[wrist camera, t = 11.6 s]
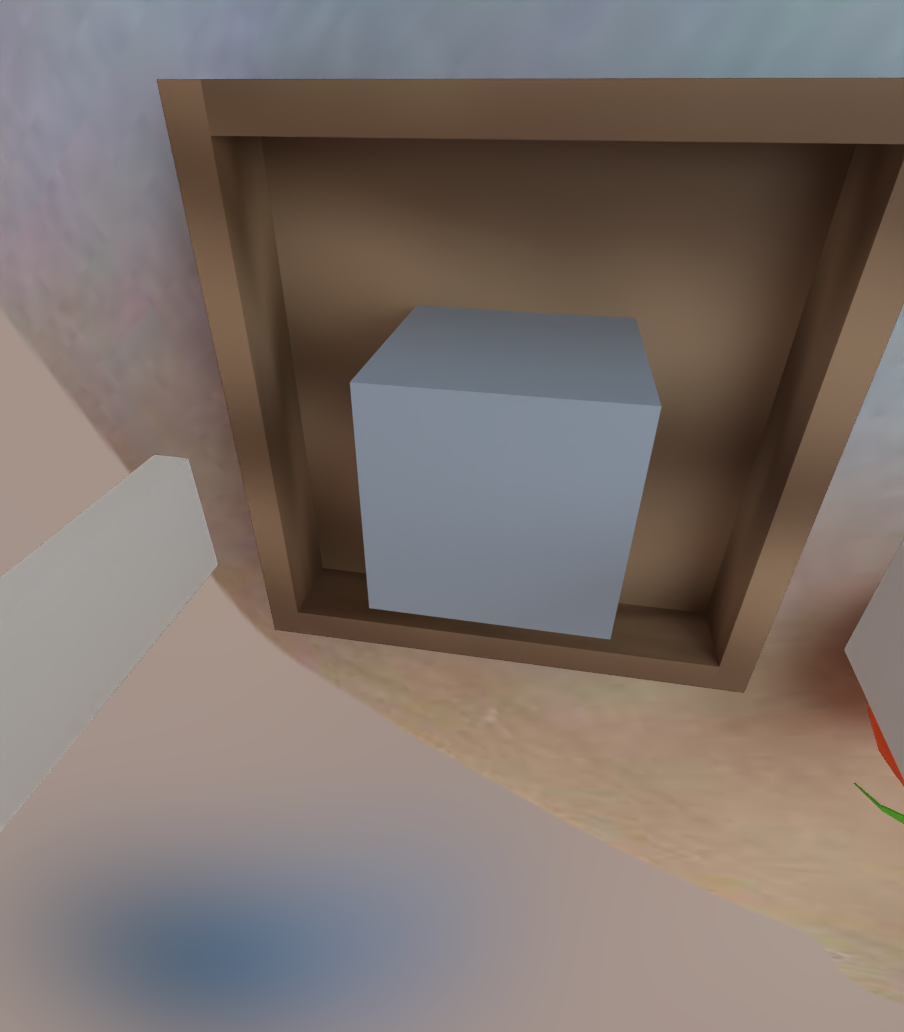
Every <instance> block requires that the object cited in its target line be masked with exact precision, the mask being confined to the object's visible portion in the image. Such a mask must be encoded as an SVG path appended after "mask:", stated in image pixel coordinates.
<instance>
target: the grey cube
mask: <svg viewBox="0 0 904 1032" xmlns="http://www.w3.org/2000/svg"><path fill="white" fill-rule="evenodd" d="M350 390H351V402H352V413H353V425H354V437H355V448H356V460H357V472H358V483H359V495H360V506H361V518H362V530H363V541H364V553H365V565H366V576H367V588H368V599H369V608H373V609H380V610H388V611H396V612H403V613H411V614H418V615H426V616H434V617H441V618H449V619H457V620H464V621H472V622H480V623H487V624H495V625H503V626H510V627H518V628H526V629H533V630H541V631H548V632H556V633H564V634H571V635H579V636H587V637H594V638H602V639H611V634H612V630H613V625H614V621H615V616H616V611H617V607H618V602H619V598H620V593H621V589H622V584H623V580H624V575H625V571H626V566H627V561H628V557H629V552H630V548H631V543H632V539H633V534H634V530H635V525H636V521H637V516H638V511H639V507H640V502H641V498H642V493H643V489H644V484H645V480H646V475H647V471H648V466H649V461H650V457H651V452H652V448H653V443H654V439H655V434H656V430H657V425H658V421H659V416H660V411H661V407H662V406H661V403H660V399H659V396H658V392H657V389H656V386H655V382H654V379H653V375H652V372H651V369H650V365H649V362H648V358H647V355H646V351H645V348H644V345H643V341H642V338H641V334H640V331H639V328H638V324H637V321H636V318H622V317H605V316H588V315H571V314H554V313H537V312H520V311H503V310H486V309H468V308H451V307H434V306H417V305H416V307H415V308H414V309H413V310H412V311H411V312H410V314H409V315H408V316H407V317H406V318H405V319H404V320H403V322H402V323H401V324H400V325H399V326H398V327H397V329H396V330H395V331H394V332H393V333H392V334H391V335H390V337H389V338H388V339H387V340H386V341H385V342H384V343H383V345H382V346H381V347H380V348H379V349H378V350H377V352H376V353H375V354H374V355H373V356H372V357H371V358H370V360H369V361H368V362H367V363H366V364H365V365H364V367H363V368H362V369H361V370H360V371H359V372H358V373H357V375H356V376H355V377H354V378H353V379H352V380H351V381H350Z"/></svg>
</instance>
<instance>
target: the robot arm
mask: <svg viewBox="0 0 904 1032" xmlns="http://www.w3.org/2000/svg"><path fill="white" fill-rule="evenodd" d="M217 566H218V562H217V559H216V555H215V552H214V548H213V545H212V541H211V537H210V534H209V530H208V527H207V523H206V520H205V516H204V513H203V509H202V505H201V502H200V498H199V495H198V491H197V488H196V484H195V481H194V477H193V473H192V470H191V466H190V463H189V459H188V458H180V457H170V456H161V455H153V456H152V457H150V458H149V459H148V460H147V461H145V462H144V463H143V464H142V465H140V466H139V467H138V468H137V469H135V470H134V471H133V472H132V473H130V474H129V475H128V476H127V477H125V478H124V479H123V480H122V481H120V482H119V483H118V484H117V485H115V486H114V487H113V488H112V489H110V490H109V491H108V492H107V493H105V494H104V495H103V496H102V497H100V498H99V499H98V500H97V501H95V502H94V503H93V504H92V505H90V506H89V507H88V508H87V509H85V510H84V511H83V512H81V513H80V514H79V515H78V516H77V517H75V518H74V519H73V520H71V522H69V523H68V524H66V525H65V526H64V527H63V528H61V529H60V530H59V531H58V532H56V533H55V534H54V535H53V536H51V537H50V538H49V539H48V540H46V541H45V542H44V543H43V544H41V545H40V546H39V547H38V548H36V549H35V550H34V551H33V552H31V553H30V554H29V555H27V556H26V557H25V558H24V559H23V560H21V561H20V562H19V563H18V564H16V565H15V566H14V567H12V568H11V569H10V570H9V571H8V572H6V573H5V574H4V575H2V576H1V577H0V832H1V830H2V829H3V828H4V827H5V826H6V824H7V823H8V822H9V821H10V819H11V818H12V817H13V816H14V814H15V813H16V812H17V811H18V809H19V808H20V807H21V806H22V805H23V803H24V802H25V801H26V800H27V799H28V797H29V796H30V795H31V794H32V792H33V791H34V790H35V789H36V788H37V786H38V785H39V784H40V783H41V781H42V780H43V779H44V778H45V776H46V775H47V774H48V773H49V772H50V770H51V769H52V768H53V767H54V765H55V764H56V763H57V762H58V761H59V759H60V758H61V757H62V756H63V755H64V753H65V752H66V751H67V750H68V748H69V747H70V746H71V745H72V743H73V742H74V741H75V740H76V739H77V737H78V736H79V735H80V734H81V732H82V731H83V730H84V728H86V726H87V725H88V724H89V723H90V721H91V720H92V719H93V718H94V717H95V715H96V714H97V713H98V712H99V710H100V709H101V708H102V707H103V705H104V704H105V703H106V702H107V700H108V699H109V698H110V697H111V696H112V694H113V693H114V692H115V691H116V690H117V688H118V687H119V686H120V685H121V683H122V682H123V681H124V680H125V679H126V677H127V676H128V675H129V674H130V672H131V671H132V670H133V669H134V667H135V666H136V665H137V664H138V663H139V661H140V660H141V659H142V658H143V656H144V655H145V654H146V653H147V652H148V650H149V649H150V648H151V647H152V645H153V644H154V643H155V642H156V641H157V639H158V638H159V636H161V634H162V633H163V632H164V631H165V630H166V628H167V627H168V626H169V625H170V623H171V622H172V621H173V619H174V618H175V617H176V616H177V615H178V614H179V612H180V611H181V610H182V609H183V607H184V606H185V605H186V604H187V603H188V601H189V600H190V599H191V598H192V596H193V595H194V594H195V593H196V591H197V590H198V589H199V588H200V587H201V585H202V584H203V583H204V582H205V580H206V579H207V578H208V577H209V576H210V574H211V573H212V572H213V571H214V569H215V568H216V567H217ZM844 651H845V653H846V655H847V657H848V659H849V661H850V664H851V666H852V668H853V670H854V672H855V675H856V677H857V679H858V681H859V683H860V686H861V688H862V690H863V692H864V694H865V697H866V699H867V701H868V703H869V705H870V707H871V710H872V712H873V714H874V716H875V718H876V721H877V723H878V725H879V727H880V729H881V732H882V734H883V736H884V738H885V740H886V742H887V745H888V747H889V749H890V751H891V753H892V756H893V758H894V760H895V762H896V764H897V767H898V769H899V771H900V773H901V775H902V777H903V780H904V539H903V541H902V542H901V544H900V546H899V548H898V550H897V552H896V554H895V555H894V557H893V559H892V561H891V563H890V565H889V567H888V569H887V570H886V572H885V574H884V576H883V578H882V580H881V582H880V583H879V585H878V587H877V589H876V591H875V593H874V595H873V596H872V598H871V600H870V602H869V604H868V606H867V608H866V610H865V611H864V613H863V615H862V617H861V619H860V621H859V623H858V624H857V626H856V628H855V630H854V632H853V634H852V636H851V637H850V639H849V641H848V643H847V645H846V647H845V649H844Z"/></svg>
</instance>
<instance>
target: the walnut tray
mask: <svg viewBox="0 0 904 1032" xmlns="http://www.w3.org/2000/svg"><path fill="white" fill-rule="evenodd" d="M157 84H158V88H159V93H160V98H161V102H162V107H163V112H164V116H165V121H166V125H167V130H168V135H169V139H170V144H171V149H172V153H173V158H174V163H175V167H176V172H177V177H178V181H179V186H180V191H181V195H182V200H183V204H184V209H185V214H186V218H187V223H188V228H189V232H190V237H191V242H192V246H193V251H194V256H195V260H196V265H197V270H198V274H199V279H200V283H201V288H202V293H203V297H204V302H205V307H206V311H207V316H208V321H209V325H210V330H211V335H212V339H213V344H214V349H215V353H216V358H217V362H218V367H219V372H220V376H221V381H222V386H223V390H224V395H225V400H226V404H227V409H228V414H229V418H230V423H231V428H232V432H233V437H234V441H235V446H236V451H237V455H238V460H239V465H240V469H241V474H242V479H243V483H244V488H245V493H246V497H247V502H248V507H249V511H250V516H251V520H252V525H253V530H254V534H255V539H256V544H257V548H258V553H259V558H260V562H261V567H262V572H263V576H264V581H265V586H266V590H267V595H268V599H269V604H270V609H271V613H272V618H273V623H274V627H275V630H281V631H288V632H296V633H303V634H311V635H318V636H326V637H333V638H340V639H348V640H355V641H363V642H370V643H378V644H385V645H393V646H400V647H407V648H415V649H422V650H430V651H437V652H445V653H452V654H459V655H467V656H474V657H482V658H489V659H497V660H504V661H511V662H519V663H526V664H534V665H541V666H549V667H556V668H563V669H571V670H578V671H586V672H593V673H601V674H608V675H615V676H623V677H630V678H638V679H645V680H653V681H660V682H667V683H675V684H682V685H690V686H697V687H705V688H712V689H719V690H727V691H734V692H742V693H744V692H745V689H746V687H747V684H748V682H749V679H750V677H751V674H752V672H753V670H754V667H755V665H756V662H757V660H758V657H759V655H760V653H761V650H762V648H763V645H764V643H765V640H766V638H767V636H768V633H769V631H770V628H771V626H772V623H773V621H774V618H775V616H776V614H777V611H778V609H779V606H780V604H781V601H782V599H783V597H784V594H785V592H786V589H787V587H788V584H789V582H790V579H791V577H792V575H793V572H794V570H795V567H796V565H797V562H798V560H799V558H800V555H801V553H802V550H803V548H804V545H805V543H806V541H807V538H808V536H809V533H810V531H811V528H812V526H813V523H814V521H815V519H816V516H817V514H818V511H819V509H820V506H821V504H822V502H823V499H824V497H825V494H826V492H827V489H828V487H829V485H830V482H831V480H832V477H833V475H834V472H835V470H836V467H837V465H838V463H839V460H840V458H841V455H842V453H843V450H844V448H845V446H846V443H847V441H848V438H849V436H850V433H851V431H852V428H853V426H854V424H855V421H856V419H857V416H858V414H859V411H860V409H861V407H862V404H863V402H864V399H865V397H866V394H867V392H868V390H869V387H870V385H871V382H872V380H873V377H874V375H875V372H876V370H877V368H878V365H879V363H880V360H881V358H882V355H883V353H884V351H885V348H886V346H887V343H888V341H889V338H890V336H891V334H892V331H893V329H894V326H895V324H896V321H897V319H898V316H899V314H900V312H901V309H902V307H903V304H904V78H601V79H157ZM416 305H417V306H434V307H451V308H468V309H486V310H503V311H520V312H537V313H554V314H571V315H588V316H605V317H622V318H636V321H637V324H638V328H639V331H640V334H641V338H642V341H643V345H644V348H645V351H646V355H647V358H648V362H649V365H650V369H651V372H652V375H653V379H654V382H655V386H656V389H657V392H658V396H659V399H660V403H661V406H662V407H661V411H660V416H659V421H658V425H657V430H656V434H655V439H654V443H653V448H652V452H651V457H650V461H649V466H648V471H647V475H646V480H645V484H644V489H643V493H642V498H641V502H640V507H639V511H638V516H637V521H636V525H635V530H634V534H633V539H632V543H631V548H630V552H629V557H628V561H627V566H626V571H625V575H624V580H623V584H622V589H621V593H620V598H619V602H618V607H617V611H616V616H615V621H614V625H613V630H612V634H611V639H602V638H594V637H587V636H579V635H571V634H564V633H556V632H548V631H541V630H533V629H526V628H518V627H510V626H503V625H495V624H487V623H480V622H472V621H464V620H457V619H449V618H441V617H434V616H426V615H418V614H411V613H403V612H396V611H388V610H380V609H373V608H369V599H368V588H367V576H366V565H365V553H364V541H363V530H362V518H361V506H360V495H359V483H358V472H357V460H356V448H355V437H354V425H353V413H352V402H351V390H350V381H351V380H352V379H353V378H354V377H355V376H356V375H357V373H358V372H359V371H360V370H361V369H362V368H363V367H364V365H365V364H366V363H367V362H368V361H369V360H370V358H371V357H372V356H373V355H374V354H375V353H376V352H377V350H378V349H379V348H380V347H381V346H382V345H383V343H384V342H385V341H386V340H387V339H388V338H389V337H390V335H391V334H392V333H393V332H394V331H395V330H396V329H397V327H398V326H399V325H400V324H401V323H402V322H403V320H404V319H405V318H406V317H407V316H408V315H409V314H410V312H411V311H412V310H413V309H414V308H415V307H416Z"/></svg>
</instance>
